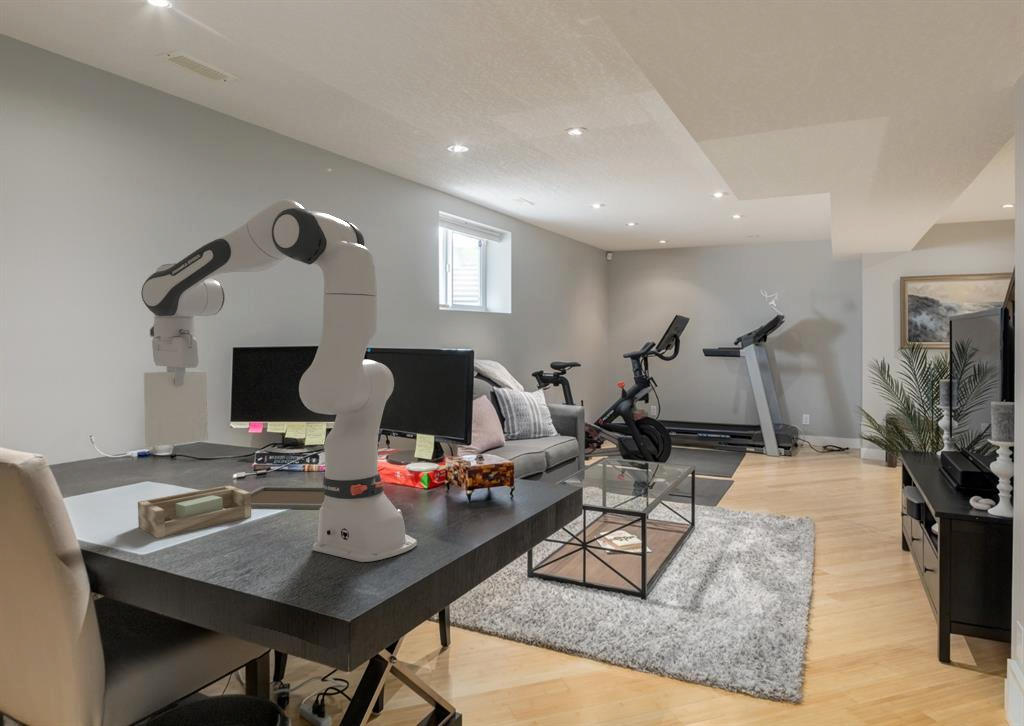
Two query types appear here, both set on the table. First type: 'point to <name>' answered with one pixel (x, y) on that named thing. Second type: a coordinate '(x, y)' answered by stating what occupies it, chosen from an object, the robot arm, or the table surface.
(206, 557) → the table surface
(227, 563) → the table surface
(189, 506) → the offcut top
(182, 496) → the rack
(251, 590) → the table surface
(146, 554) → the table surface
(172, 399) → the off-white rectangular board
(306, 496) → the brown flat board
